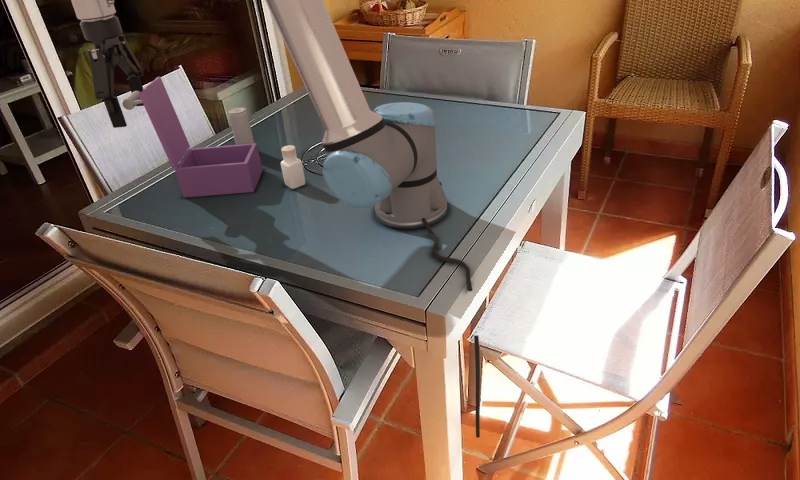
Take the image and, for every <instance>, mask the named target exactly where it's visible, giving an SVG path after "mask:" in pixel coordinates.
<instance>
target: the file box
mask: <svg viewBox="0 0 800 480" xmlns="http://www.w3.org/2000/svg"><path fill="white" fill-rule="evenodd" d="M263 171H264V169H263V165H262V160H261V156H260V152H259V148H258V144H257V142H254V143H252V144H240V145H236V144H230V145H217V146H207V147H206V146H205V147H192V148H189V149H188V150H187V152H186V153H185V155H184V156H183V157H182V159H181V160H180V162H179V163H178V164H177V166H176V167H174V172H175V175H176V178H177V182H178V184H179V188H180V190H181V195H182V197H183V198H198V197H210V196H221V195H233V194H245V193H254V192H255V191H256V189H257V186H258V183H259V181H260V178H261V175H262V173H263Z"/></svg>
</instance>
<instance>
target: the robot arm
mask: <svg viewBox="0 0 800 480" xmlns="http://www.w3.org/2000/svg"><path fill="white" fill-rule="evenodd" d="M70 1H71V4H72V7H73V10H74V13H75V16H76V18H77V19H78V20H79V21H80V22H79V26H80V29H81V32H82V34H83V37H84V39H85V41H87V42H92V43H93V46H94V48H92V49H87V55H88V59H89V62H90V68H91V76H92V83H93V90H94V97H95V99H96V100H98V101H100V100H103V103H104V105H105V109H106V110H107V114H108V117H109V119H110V123H111V125H112V128H113V129H116V128H126V127H128V124H127V122H126V118H125V115H124V112H123V110H122V107H121V104H120V102H119V99H118V96H115V69H116V68H117V66H118V67H119V68H120V69H121V71H123V72H124V74H125V75H126V76H127V77H128V78H126V81H127V83H128V87H129V90H130V92H131V93H130V94H132V93H133V92H134V91H139V92H141V91H142V90H144V89H145V88H144V86H143V84H142V80H141V78H140V77H144V71H143V68H142V65H140V63H139V61H138V59H137V57H136V55H135V54H134V52H133V50H132V49H131V46H130V45H129V44H128V41H127V38H126V35H125V33H124V34H123V32H124V31H123V29H122V26H121V22H120V20H119V17H118V16H117V15H115V14H116V13H117V10H116V8H115V5H114V4H115V0H70ZM264 1H265V4H266V5H267V7H268V9H269V12H270V14H271V16H272V19H273V20H274V23H275V25H276V27H277V29H278V32H279V33H280V35H281V38H282V40H283V42H284V45H285V46H286V49H287V51H288V54H289V55H290V57H291V60H292V62H293V64H294V65H295V68H296V71H297V72H298V74H299V77H300V79H301V81H302V83H303V86H304V87H305V90H306V92H307V94H308V96H309V98H310V100H311V102H312V104H313V106H314V109H315V111H316V113H317V115H318V117H319V120H320V122H321V125H322V126H323V128H324V133H323V137H322V139H321V145H322V147H323V149H324V151H325V153H326V155H327V157H326V159H325V160H324V161H323V164H322V165H323V166H322V167H323V168H322V177H323V181H324V183H325V185H326V187H327V188H328V190H329V191H330V192H331V193H332V194H333V196H335V197H336V198H337V199H338V200H339V201H341V202H342V203H346V204H347V205H348V206H351V207H354V208H359V209H366V208H371V207H374V212H375V217H376V219H377V221H379V223H381V224H383V225H384V226H386V227H390V228H393V229H398V230H417V229H423V228H425V229H426V230H427V232H428V233H429V236H430V237H431V239H432V241H433V247H432V255H433V256H434V257H435V259H437V260H439V261H440V262H446V263H451V264H457V265H459V266H461V267H462V268H463V269H464V271H465V281H466V287H467V291H469V292H473V286H472V281H471V269H470V267H469V265H467V264H466V263H465V262H464V261H462V260H460V259H457V258H452V257H446V256H442V255H440V254H439V253H438V248H439V240H438V237H437V235H436V234H435V232H434V231H433V229H432V228H431V226H432V225H434V224H436V223H438V222H440V221H441V220H442V219H444V217H445V216H446V215H447V213H448V200H447V196H446V195H445V194H446V193H445V192H444V190H443V183H442V182H441V181H440V179H439V177H438V171H437V169H438V165H437V145H436V143H437V142H436V141H437V140H436V123H435V113H434V111H433V109H432V108H431V107H429V106H428V105H426V104H423V103H418V102H408V101H407V102H405V101H403V102H402V101H401V102H400V101H399V102H390V103H389V102H388V103H384V104H381V105H378V106H377V107H375V108H374V109H373V110H371V108H370V106H369V104H368V101H367V99H366V97H365V95H364V91H363V90H362V88H361V86H360V83H359V81H358V78H357V76H356V73H355V72H354V69H353V67H352V65H351V62H350V59H349V57H348V56H347V53H346V50H345V49H344V45H343V43H342V41H341V38H340V37H339V34H338V31H337V30H336V27H335V25H334V23H333V20H332V18H331V16H330V13H329V11H328V8H327V6H326V4H325V2H324V0H264ZM135 107H144V105H143V103H141V104H137V105H136V106H135ZM479 337H480V336H479V335H478V334H477V335H473V341H474V342H473V343H474V360H475V361H474V362H475V364H474V365H475V366H474V367H475V437H476V438H477V439H479V438H480V436H481V431H480V429H481V426H480V424H481V422H480V412H481V411H480V409H481V407H480V405H481V404H480V403H481V402H480V401H481V400H480V399H481V397H480V396H481V360H480V359H481V357H480V338H479Z"/></svg>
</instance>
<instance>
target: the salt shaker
mask: <svg viewBox="0 0 800 480" xmlns="http://www.w3.org/2000/svg"><path fill="white" fill-rule="evenodd" d="M280 151H281V155H282V158H283V160H281V161H280V169H281V174H282V177H283V182H284V185H285V186H287V188H289V189H291V190H295V189H297V188H300V187H303V186H305V185H306V184H307V183H306V179H305V172H304V167H303V162H302V160H301V159H300V158H298V157H297V154H298V153H297V150H296V146H295V145H291V144H290V145H284V146H282V147H281V149H280Z"/></svg>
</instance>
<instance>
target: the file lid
mask: <svg viewBox="0 0 800 480" xmlns="http://www.w3.org/2000/svg"><path fill="white" fill-rule="evenodd" d="M143 89H144V90H142V91H141V92H139V91H134V92H133V93H130V94H129V95H128V96H127V97H126V98H125V99H124V100H123V101H122V103H121V104H122V107H123V108H124V109H125V110H128V111H132V110H133V109H134V108H135V107H137V106H136V105H137V104H141V103H143V105H144V106H143V107H144V109H145V111H146V113H147V115H148V118H149V120H150V122H151V125H152V127H153V129H154V131H155V133H156V135H157V137H158V140H159V142H160V144H161V147H162V148H163V151H164V153H165V156H166V157H167V160H168V162H169V164H170V166H171V168H172V169H175V168H176V167H177V166H178V164H179V163H180V161H181V160H182V158H183V157H184V156H185V154H186V153H187V151H188V150H189V149H190V148H191V145H190V143H189V140H188V138H187V136H186V134H185V131H184V129H183V126H182V124H181V121H180V119H179V117H178V115H177V112H176V110H175V108H174V106H173V103H172V100H171V99H170V96H169V94H168V91H167V89H166V87H165V85H164V82H163V79H162V77H161V76H157V77H156V78H154V79H153V80H152V81H151V82H150V83H149V84H148V85H146V86H145V88H143Z"/></svg>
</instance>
